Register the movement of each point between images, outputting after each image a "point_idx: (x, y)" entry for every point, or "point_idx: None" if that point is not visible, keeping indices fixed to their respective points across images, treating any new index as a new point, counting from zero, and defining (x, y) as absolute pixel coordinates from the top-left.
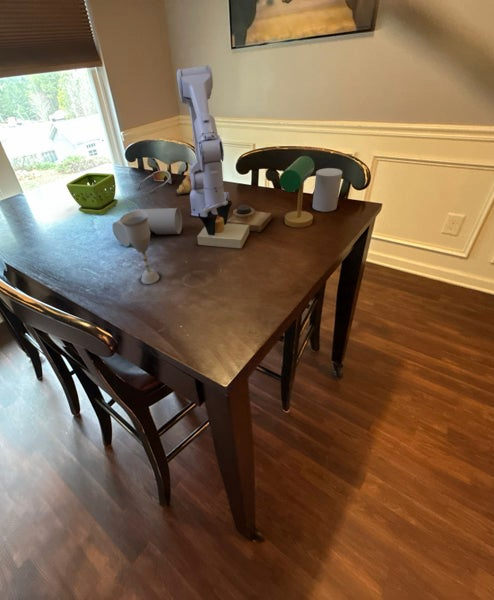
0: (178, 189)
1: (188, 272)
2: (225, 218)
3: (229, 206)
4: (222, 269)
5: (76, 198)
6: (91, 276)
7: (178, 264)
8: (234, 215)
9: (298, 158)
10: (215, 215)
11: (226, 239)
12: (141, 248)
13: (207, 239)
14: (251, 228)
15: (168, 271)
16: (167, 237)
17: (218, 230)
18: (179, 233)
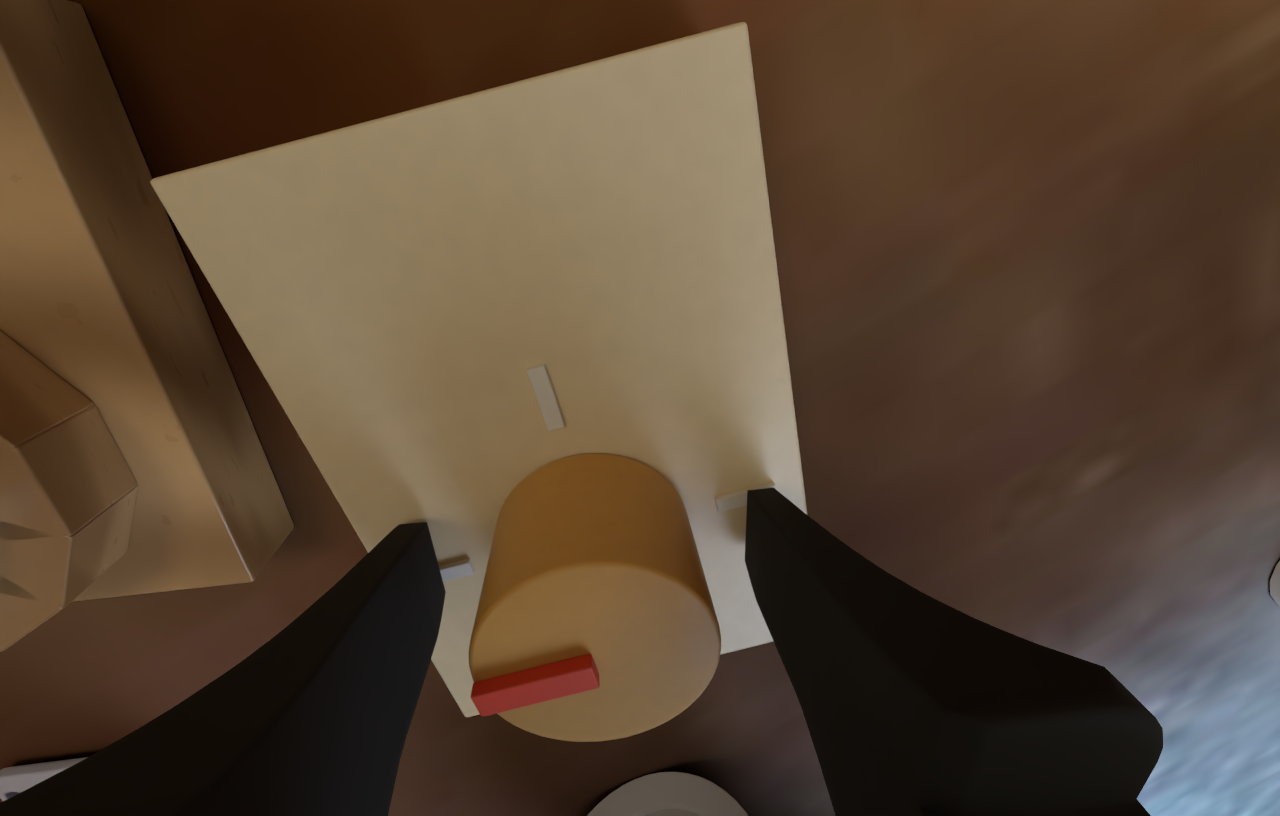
0: None
1: (1277, 353)
2: (389, 590)
3: (170, 766)
4: (1242, 24)
5: None
6: (1275, 810)
7: (1139, 504)
8: (84, 567)
9: None
10: (1031, 737)
11: (776, 288)
12: None
13: None
14: (125, 184)
15: (1248, 507)
16: (746, 796)
17: (670, 499)
18: (668, 774)
